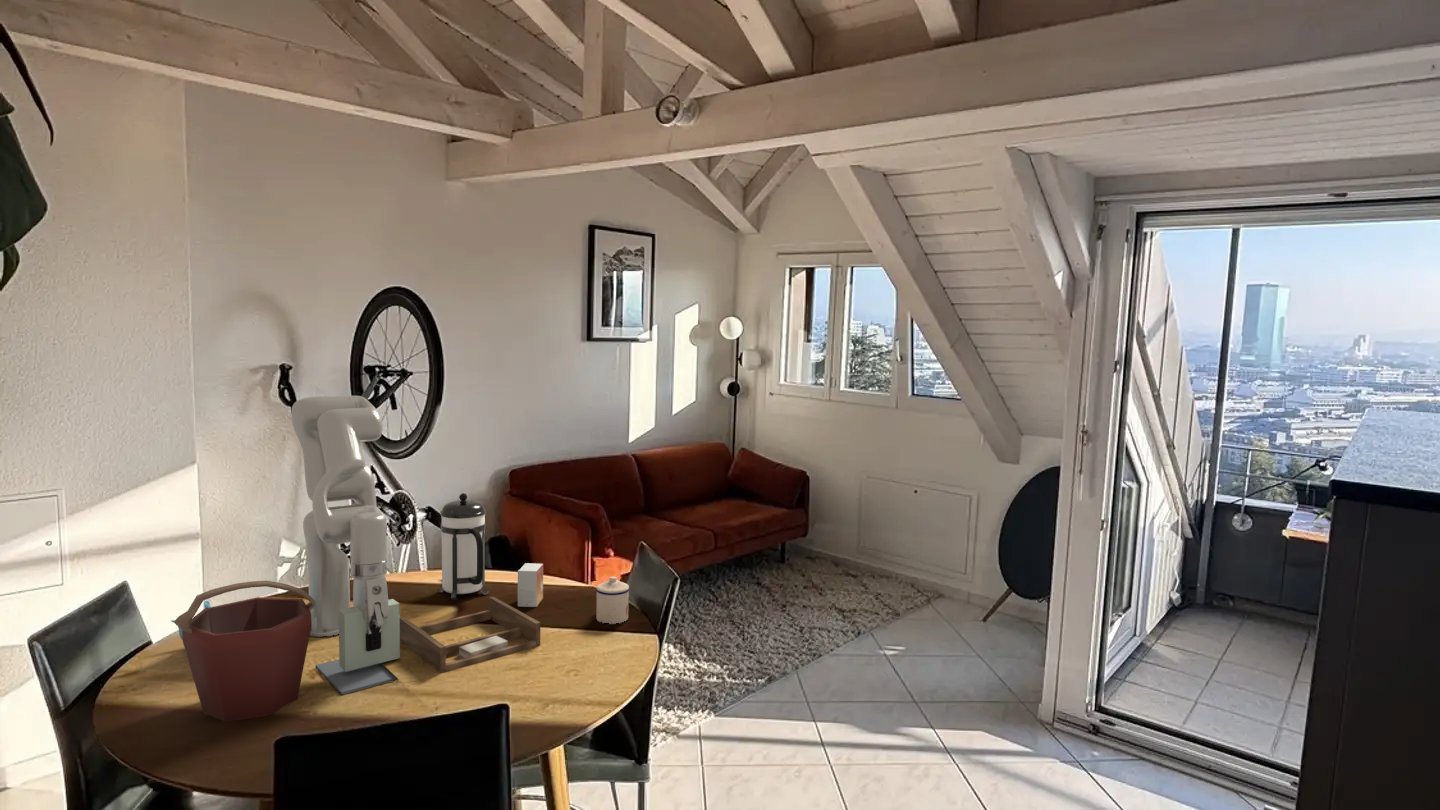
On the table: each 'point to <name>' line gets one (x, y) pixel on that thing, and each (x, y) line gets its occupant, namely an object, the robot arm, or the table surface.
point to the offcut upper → (482, 646)
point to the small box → (530, 585)
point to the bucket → (247, 651)
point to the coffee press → (463, 547)
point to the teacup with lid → (612, 601)
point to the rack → (437, 652)
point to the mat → (355, 676)
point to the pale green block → (355, 638)
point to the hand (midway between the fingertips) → (369, 645)
